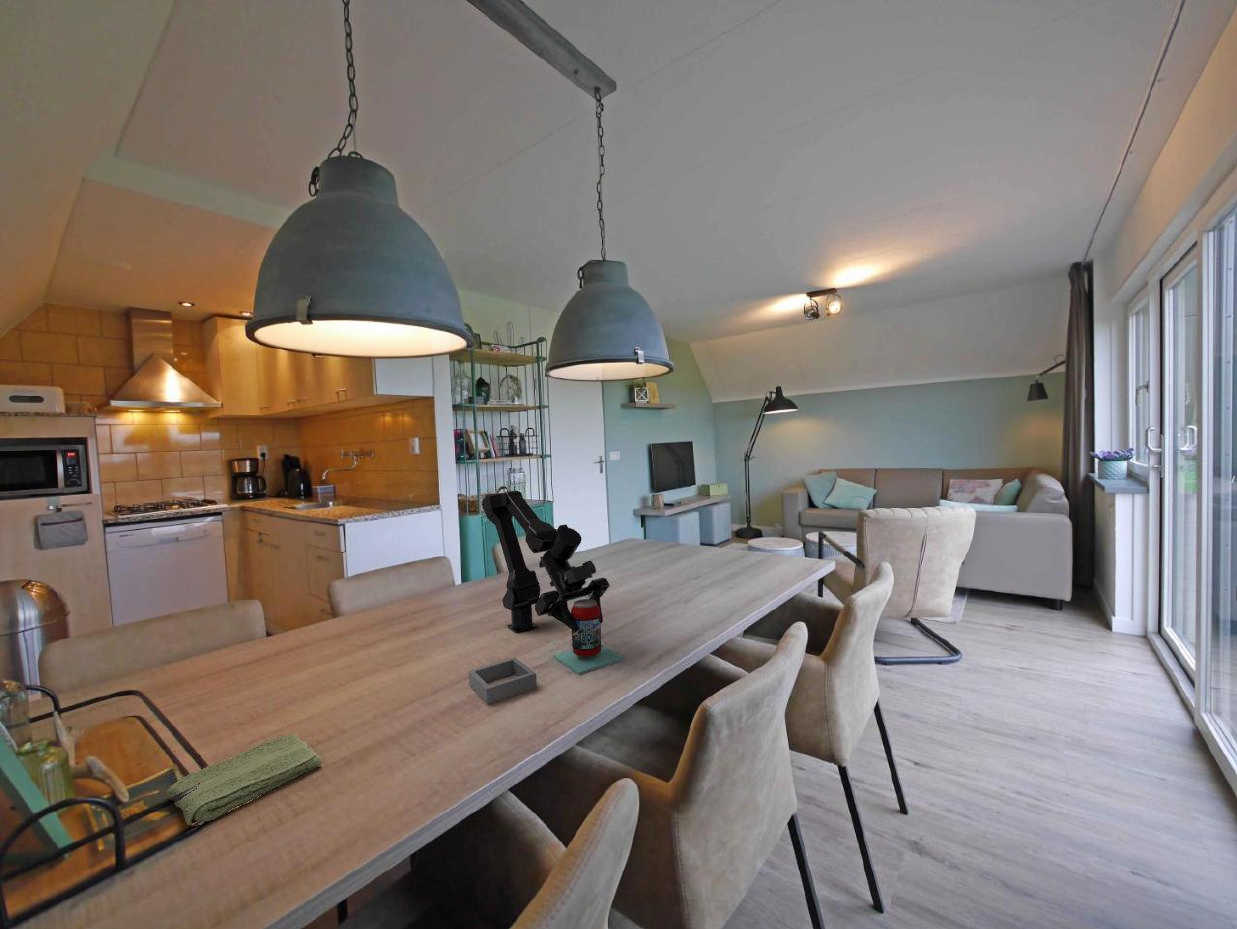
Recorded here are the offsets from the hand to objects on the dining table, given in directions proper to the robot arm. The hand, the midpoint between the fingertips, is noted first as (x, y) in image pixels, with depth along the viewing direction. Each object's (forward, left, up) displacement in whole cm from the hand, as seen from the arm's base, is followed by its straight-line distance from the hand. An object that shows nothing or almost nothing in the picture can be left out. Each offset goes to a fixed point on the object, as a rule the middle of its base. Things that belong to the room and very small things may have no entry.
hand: (589, 626), depth 119 cm
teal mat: (-1, 0, -8) cm, 8 cm away
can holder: (-1, -21, -8) cm, 23 cm away
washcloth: (+3, -64, -8) cm, 65 cm away
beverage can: (-1, 0, -7) cm, 7 cm away
